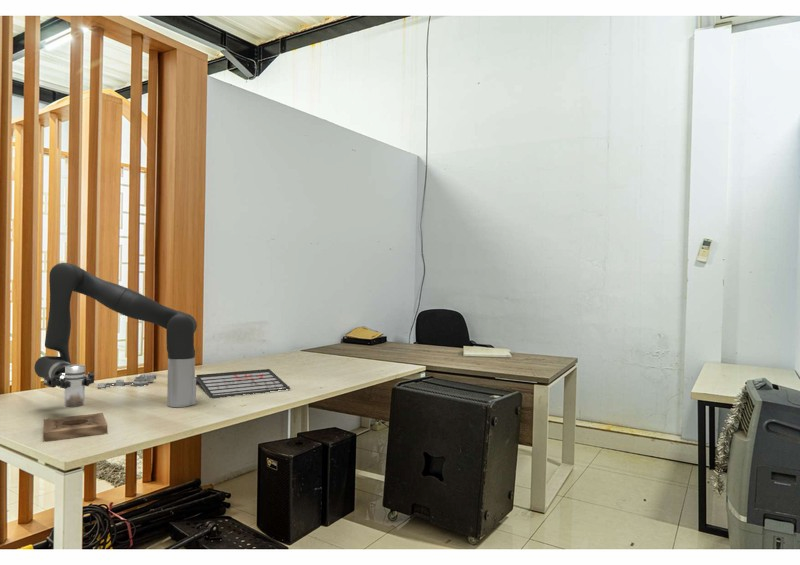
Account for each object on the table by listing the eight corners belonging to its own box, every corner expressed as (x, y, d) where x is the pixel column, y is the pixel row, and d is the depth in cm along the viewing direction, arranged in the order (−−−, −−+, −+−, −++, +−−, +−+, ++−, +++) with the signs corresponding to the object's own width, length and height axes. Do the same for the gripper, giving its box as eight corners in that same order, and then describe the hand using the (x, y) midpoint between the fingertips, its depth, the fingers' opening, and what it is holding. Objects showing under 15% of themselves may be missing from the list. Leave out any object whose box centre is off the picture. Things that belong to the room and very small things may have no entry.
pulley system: (172, 382, 240) (149, 377, 247) (172, 372, 240) (149, 366, 247) (114, 396, 216) (91, 390, 223) (115, 385, 215) (91, 378, 222)
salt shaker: (84, 402, 168) (84, 363, 168) (85, 406, 164) (85, 366, 163) (64, 404, 165) (64, 365, 165) (64, 408, 161) (65, 368, 160)
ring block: (102, 420, 176) (102, 412, 176) (107, 433, 162) (107, 425, 162) (43, 427, 167) (43, 419, 167) (43, 441, 154) (43, 432, 154)
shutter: (288, 403, 226) (264, 380, 252) (290, 387, 226) (266, 365, 252) (210, 409, 209) (192, 383, 235) (211, 391, 208) (194, 367, 234)
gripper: (38, 365, 170) (49, 374, 157) (89, 360, 180) (103, 369, 167) (37, 388, 170) (48, 399, 158) (88, 383, 180) (103, 393, 167)
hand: (77, 383), depth 162 cm, fingers closed on salt shaker, 5 cm apart
